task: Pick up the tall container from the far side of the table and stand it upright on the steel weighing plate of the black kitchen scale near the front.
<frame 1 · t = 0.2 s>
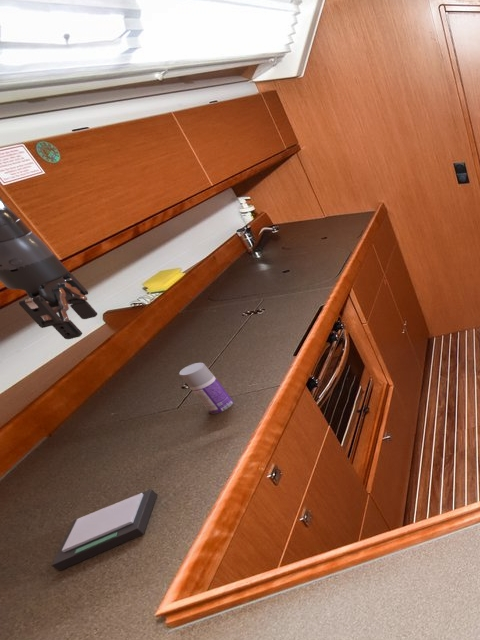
hand: (83, 326, 85), 32 cm above the table, tool pointing down, fingers open, 8 cm apart
container: (225, 411, 106), on the table
scale: (112, 530, 80), on the table
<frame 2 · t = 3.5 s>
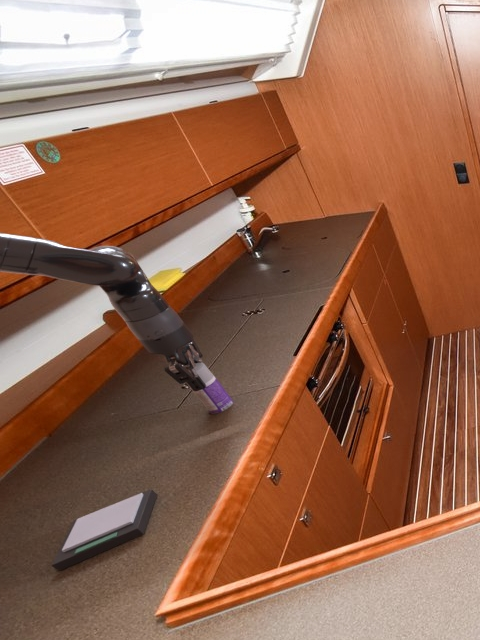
hand: (202, 382, 101), 10 cm above the table, tool pointing down, fingers closed on container, 4 cm apart
container: (225, 411, 106), on the table, touching gripper
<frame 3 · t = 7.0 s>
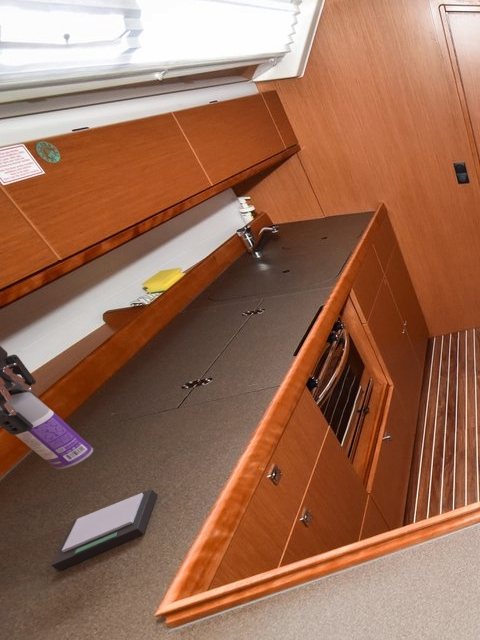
hand: (31, 420, 71), 27 cm above the table, tool pointing down, fingers closed on container, 4 cm apart
container: (75, 458, 76), point 16 cm above the table, touching gripper
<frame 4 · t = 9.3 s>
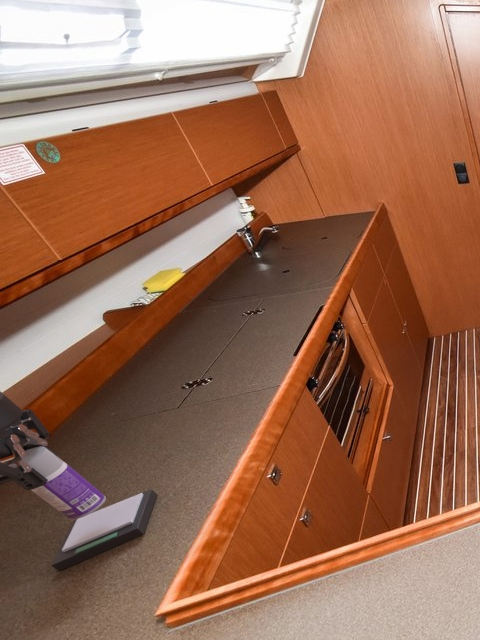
hand: (45, 474, 72), 18 cm above the table, tool pointing down, fingers closed on container, 4 cm apart
container: (88, 507, 77), point 7 cm above the table, touching gripper
when the fingers open (13 cm above the table, at t = 10.9 s): container stays where it is, resting on scale.
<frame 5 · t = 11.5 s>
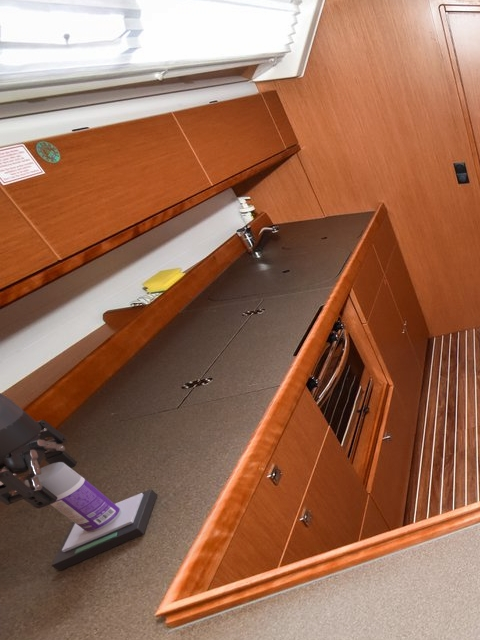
hand: (59, 485, 73), 14 cm above the table, tool pointing down, fingers open, 8 cm apart
container: (104, 520, 79), point 3 cm above the table, touching scale
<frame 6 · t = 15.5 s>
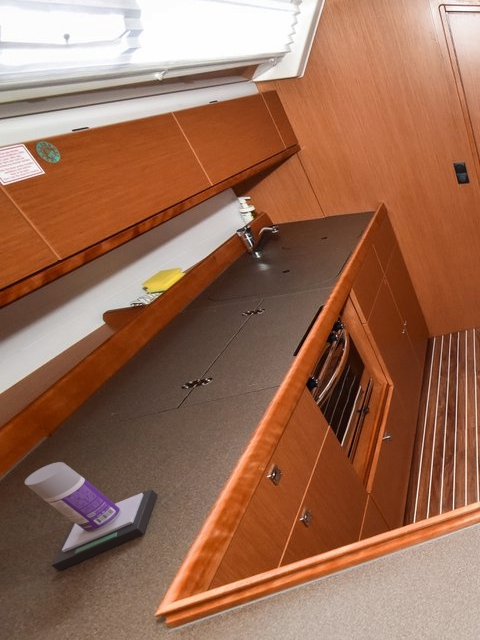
nothing on the table moved.
at the end: container 0.0 cm off-centre on the scale, point 2.6 cm above the scale's base; container tilted 0°; the gripper is holding nothing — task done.
